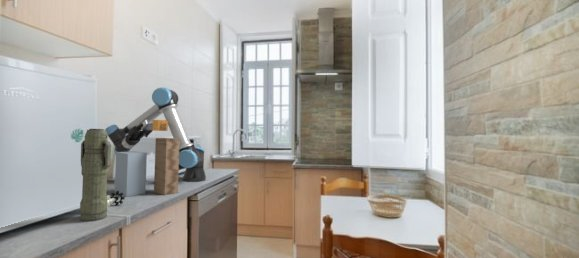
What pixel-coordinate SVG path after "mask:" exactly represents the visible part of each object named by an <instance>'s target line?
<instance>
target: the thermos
mask: <svg viewBox="0 0 579 258" xmlns="http://www.w3.org/2000/svg"><path fill="white" fill-rule="evenodd" d="M111 153H112V144H111V142H110V141H109V137H108V135H107V133H106V130H105V129H104V128H89V129H86V132H85V135H84V140H83V141H82V142H81V144H80V167H81V175H82V192H81V200H80V202H79V214H80V219H79V220H80V221H81V222H96V221H101V220H104V219H106V218H107V214H108V212H107V205H108V200H107V197H106V195H107V187H108V185H107V183H108V182H107V181H108V180H107V179H108V174H109V167H110V166H111V155H112V154H111Z"/></svg>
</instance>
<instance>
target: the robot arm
mask: <svg viewBox="0 0 579 258" xmlns="http://www.w3.org/2000/svg"><path fill="white" fill-rule="evenodd" d="M151 101H152V102H153V103H154V104H153V105H152V106H151V107H150V108H148V109H147V110H146V111H145V112H143V113H142V114H141V115H139V116H137V117H136V118H135V119H134V120H132V121H131V122H129V124H127V125H126V126H124V127H123V128H119V126H118V125H117V124H111V125H109V126H107V127H106V128H105V129H104V130H106V133H107V136H108V139H109V140H110V141H111V142H112V143H113V146H114V149H113V151H114V153H115V154H116V152H130V151H131V150H132V149H134V147H135V146H136V145H138V143H140V141H141V139H143V137H145V138H148V136H149V135H150V134H151V133H152V132H153V130H141V129H143V128H144V127H145V126H146V125H147V124H148V123H153V120H157V118H159V116H161V115H162V114H163V116H164V120H168V129H169V131H170V133H171V135H172V138H175V139H180V142H179V166H181V168H184V169H185V170H184V173H183V176H182V181H185V182H203V181H202V180H204V181H206V180H207V176H206V172H205V169H204V166H205V163H204V162H205V148H204V146H195V144H194V143H193V142H191V140H190V138H189V136H188V132H187V131H186V128H185V126H184V123H183V121H182V119H181V116H180V113H179V110H178V106H179V105H178V103H179V96H178V94H177V93H176V92H175V91H174V90H172V89H169V88H167V87H158V88H156V89H155V90H153V92H152V94H151ZM140 123H142V124H140ZM205 179H206V180H205Z"/></svg>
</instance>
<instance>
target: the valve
mask: <svg viewBox="0 0 579 258" xmlns="http://www.w3.org/2000/svg"><path fill="white" fill-rule="evenodd" d="M106 197H107V200H108V205H107V213H108V212H109V211H110V209H111V205H112V204H115V206H116V205H117V206H119V205H122V204H123V203H124V201H125V199H126V196H123V193H120V194H119V191H116V193H115V191H114V192H111V193H110V195H109V194H106ZM122 200H123V201H122Z"/></svg>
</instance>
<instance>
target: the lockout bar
mask: <svg viewBox="0 0 579 258" xmlns="http://www.w3.org/2000/svg"><path fill="white" fill-rule="evenodd" d="M140 124H142V123H140ZM168 129H169V126H168V120H166V119H154V120H153V123H151V122H150V123H148V124H147V125H146V126H145V127H144V128H143V129H141V130H140V131H142V130H153V131H155V132H156V131H159V132H160V131H161V132H167V131H169V130H168ZM153 131H152V132H153Z"/></svg>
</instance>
